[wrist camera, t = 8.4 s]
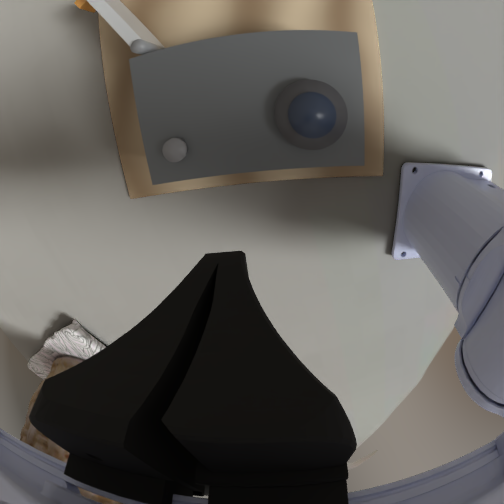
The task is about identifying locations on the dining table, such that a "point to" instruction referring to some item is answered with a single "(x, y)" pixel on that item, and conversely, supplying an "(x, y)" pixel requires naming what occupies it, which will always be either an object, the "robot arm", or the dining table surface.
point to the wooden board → (231, 23)
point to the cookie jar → (52, 363)
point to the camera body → (251, 104)
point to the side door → (124, 24)
